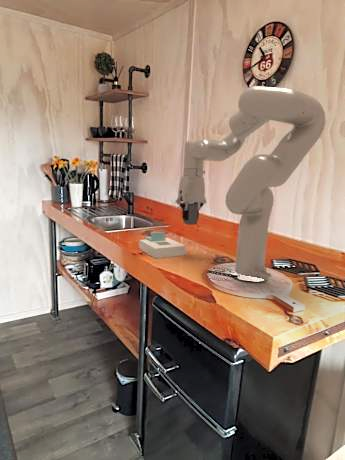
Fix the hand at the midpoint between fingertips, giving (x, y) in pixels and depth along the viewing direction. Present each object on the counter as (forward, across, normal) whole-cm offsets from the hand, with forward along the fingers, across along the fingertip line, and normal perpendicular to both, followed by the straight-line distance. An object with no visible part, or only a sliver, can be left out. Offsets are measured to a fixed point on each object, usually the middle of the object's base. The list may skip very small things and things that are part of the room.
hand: (190, 219), depth 129 cm
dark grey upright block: (+2, 0, 0) cm, 2 cm away
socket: (+16, +7, -9) cm, 19 cm away
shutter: (+12, +7, -17) cm, 22 cm away
